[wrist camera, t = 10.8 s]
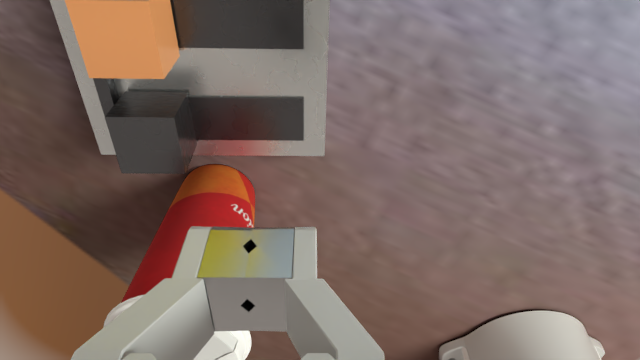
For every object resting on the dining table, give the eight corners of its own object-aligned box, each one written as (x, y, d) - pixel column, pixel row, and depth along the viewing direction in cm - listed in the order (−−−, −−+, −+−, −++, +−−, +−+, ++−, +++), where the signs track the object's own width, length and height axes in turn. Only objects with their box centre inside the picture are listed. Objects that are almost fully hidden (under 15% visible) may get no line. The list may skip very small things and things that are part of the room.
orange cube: (180, 55, 26) (164, 79, 23) (113, 55, 26) (89, 78, 23) (167, -15, 24) (148, 1, 21) (93, -17, 24) (64, -1, 21)
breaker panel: (323, 141, 33) (326, 186, 28) (111, 140, 32) (78, 185, 28) (329, -50, 25) (334, -31, 20) (51, -55, 25) (-8, -37, 20)
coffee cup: (249, 240, 39) (222, 410, 27) (157, 212, 37) (83, 383, 24) (285, 172, 34) (272, 338, 22) (183, 134, 32) (107, 296, 20)
